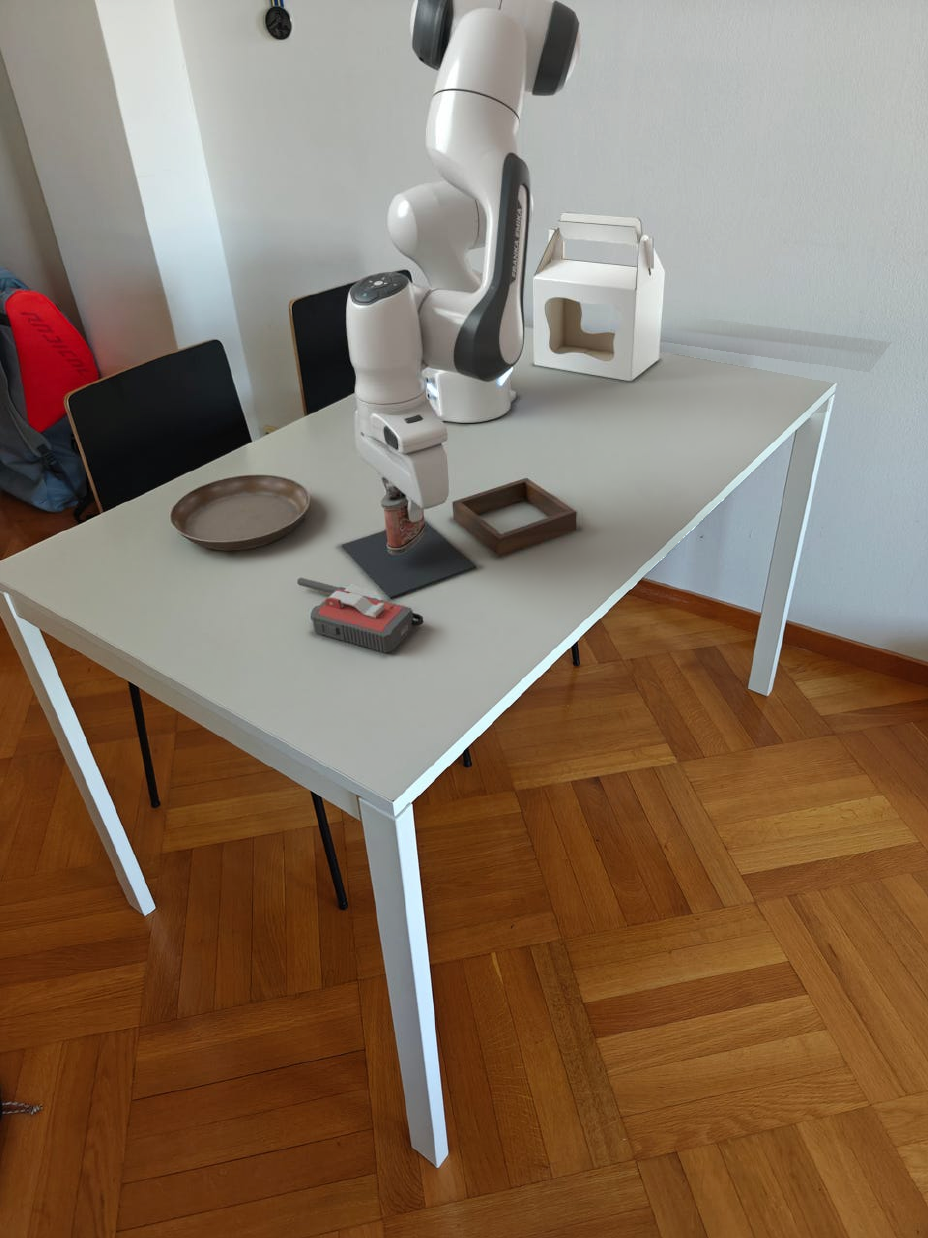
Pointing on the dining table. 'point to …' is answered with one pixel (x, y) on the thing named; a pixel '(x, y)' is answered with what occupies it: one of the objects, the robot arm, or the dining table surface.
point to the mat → (408, 562)
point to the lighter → (400, 522)
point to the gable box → (598, 300)
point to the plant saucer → (240, 511)
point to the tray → (520, 538)
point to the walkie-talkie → (361, 617)
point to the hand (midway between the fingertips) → (404, 510)
